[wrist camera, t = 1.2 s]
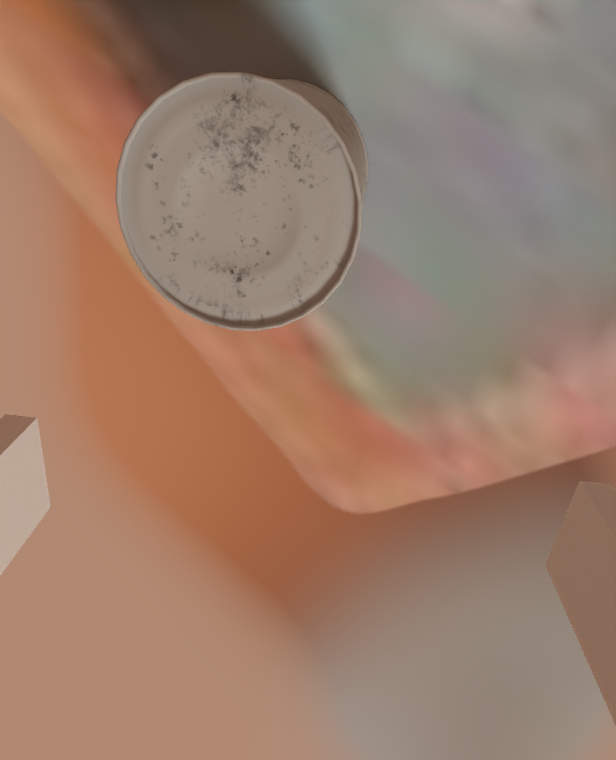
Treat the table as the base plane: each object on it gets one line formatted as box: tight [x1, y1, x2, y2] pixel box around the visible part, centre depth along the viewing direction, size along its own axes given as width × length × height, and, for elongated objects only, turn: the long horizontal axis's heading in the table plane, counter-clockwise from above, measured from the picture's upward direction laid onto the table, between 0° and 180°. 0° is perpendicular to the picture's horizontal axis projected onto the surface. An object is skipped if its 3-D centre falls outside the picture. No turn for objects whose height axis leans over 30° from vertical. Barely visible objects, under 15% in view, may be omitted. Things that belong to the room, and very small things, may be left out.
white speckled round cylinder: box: [116, 72, 368, 331], centre depth 26 cm, size 10×10×12 cm
